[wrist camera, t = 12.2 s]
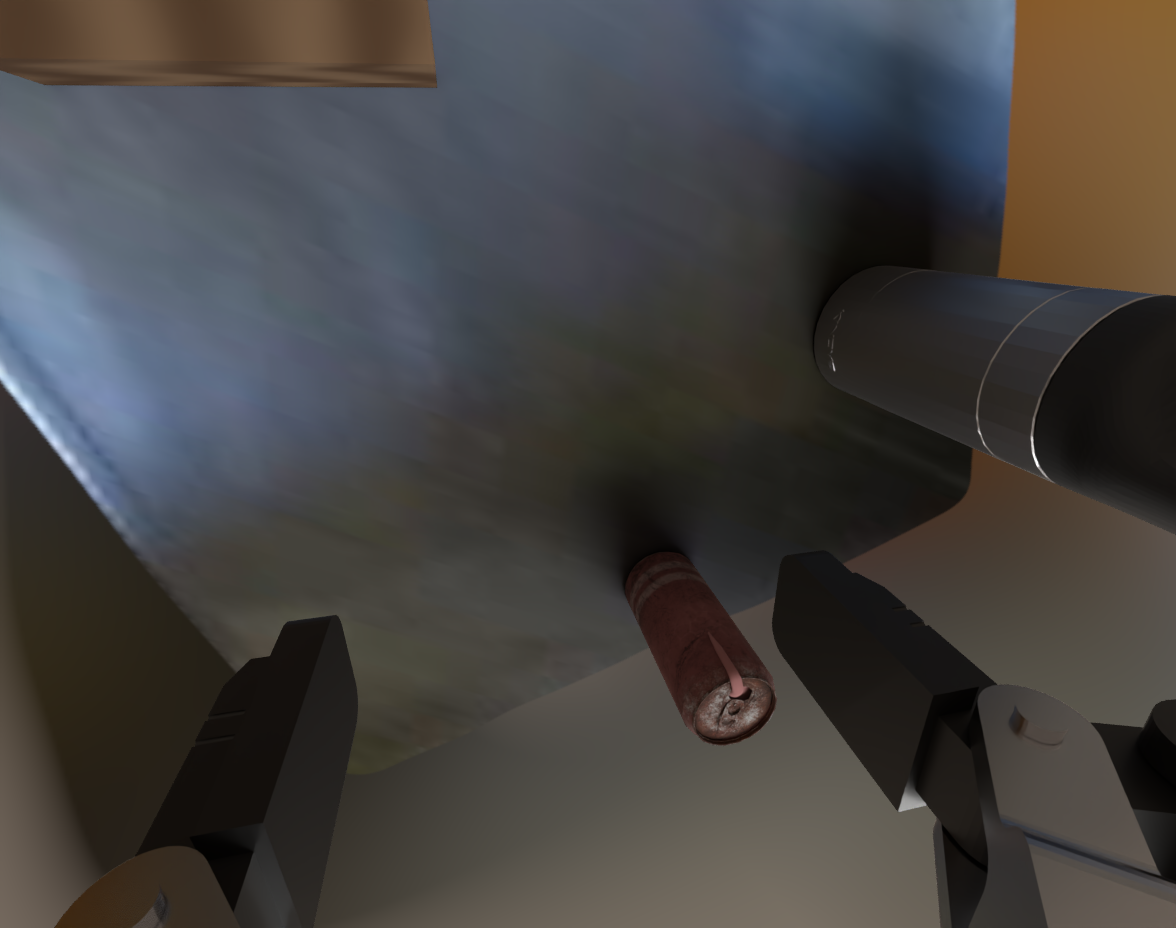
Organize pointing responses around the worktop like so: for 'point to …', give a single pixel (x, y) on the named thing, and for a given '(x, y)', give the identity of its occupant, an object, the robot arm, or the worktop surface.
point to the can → (699, 651)
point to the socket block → (219, 42)
